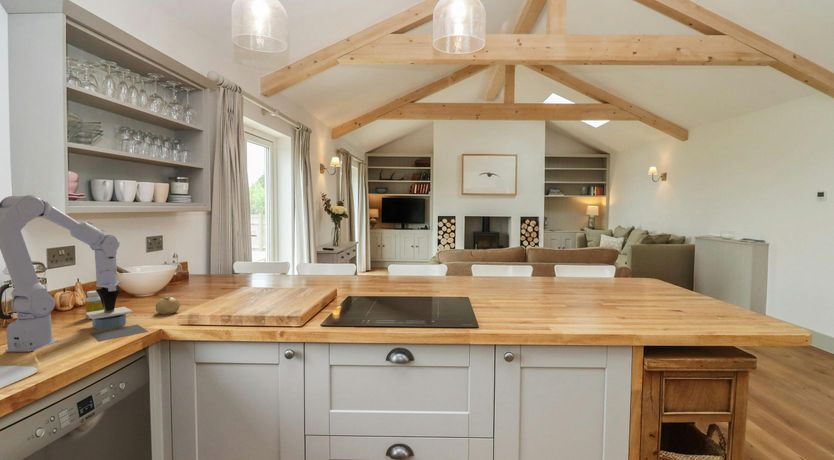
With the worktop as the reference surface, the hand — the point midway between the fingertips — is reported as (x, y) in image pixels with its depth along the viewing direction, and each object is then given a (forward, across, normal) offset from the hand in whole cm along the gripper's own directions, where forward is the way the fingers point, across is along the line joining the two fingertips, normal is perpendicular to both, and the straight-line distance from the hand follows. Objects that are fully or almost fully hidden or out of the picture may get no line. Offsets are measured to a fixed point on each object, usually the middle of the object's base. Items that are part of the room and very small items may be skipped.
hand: (108, 309), depth 143 cm
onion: (+6, +4, -19) cm, 20 cm away
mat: (+6, -13, 0) cm, 14 cm away
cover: (+1, 0, 0) cm, 1 cm away
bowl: (+6, 0, 0) cm, 6 cm away
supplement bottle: (+6, +20, +1) cm, 21 cm away
